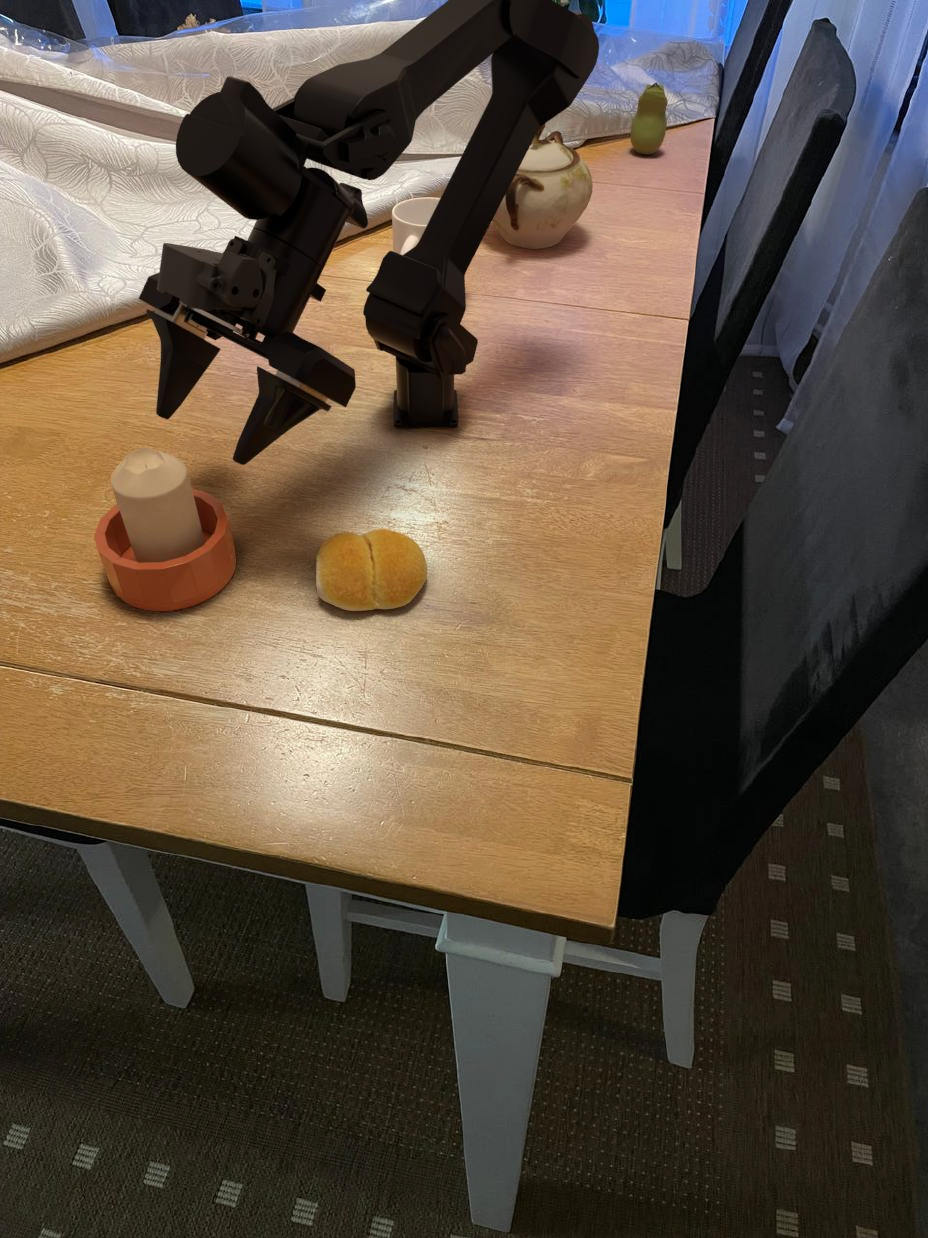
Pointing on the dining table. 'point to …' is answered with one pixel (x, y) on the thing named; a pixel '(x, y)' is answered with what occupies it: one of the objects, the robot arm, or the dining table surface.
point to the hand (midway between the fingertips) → (198, 439)
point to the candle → (157, 505)
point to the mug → (411, 222)
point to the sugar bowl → (544, 194)
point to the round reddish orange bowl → (169, 562)
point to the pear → (649, 120)
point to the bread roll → (370, 570)
